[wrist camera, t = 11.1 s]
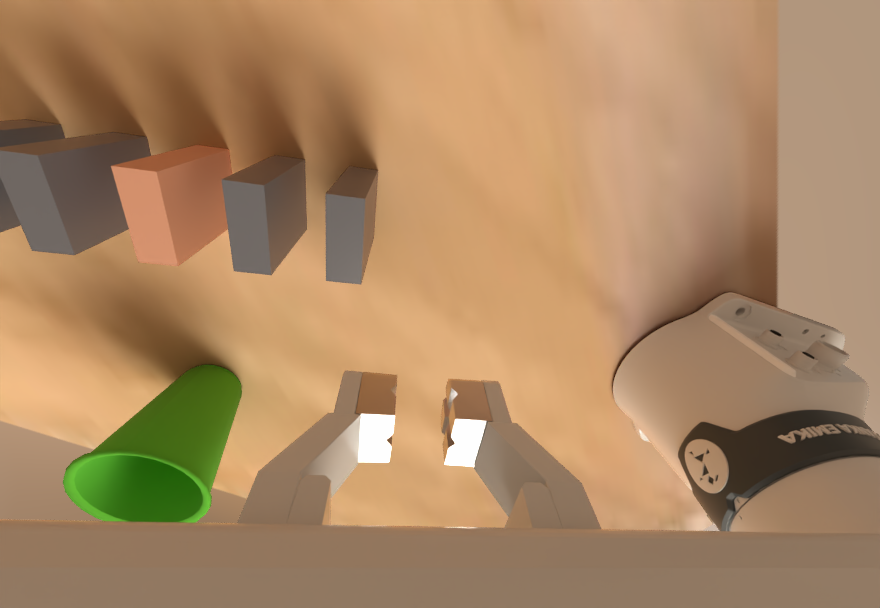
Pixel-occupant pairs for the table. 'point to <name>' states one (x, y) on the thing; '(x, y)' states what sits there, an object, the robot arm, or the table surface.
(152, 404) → the cup
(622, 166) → the table surface
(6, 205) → the domino
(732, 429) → the robot arm
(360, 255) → the domino
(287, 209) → the domino
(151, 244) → the domino
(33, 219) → the domino
